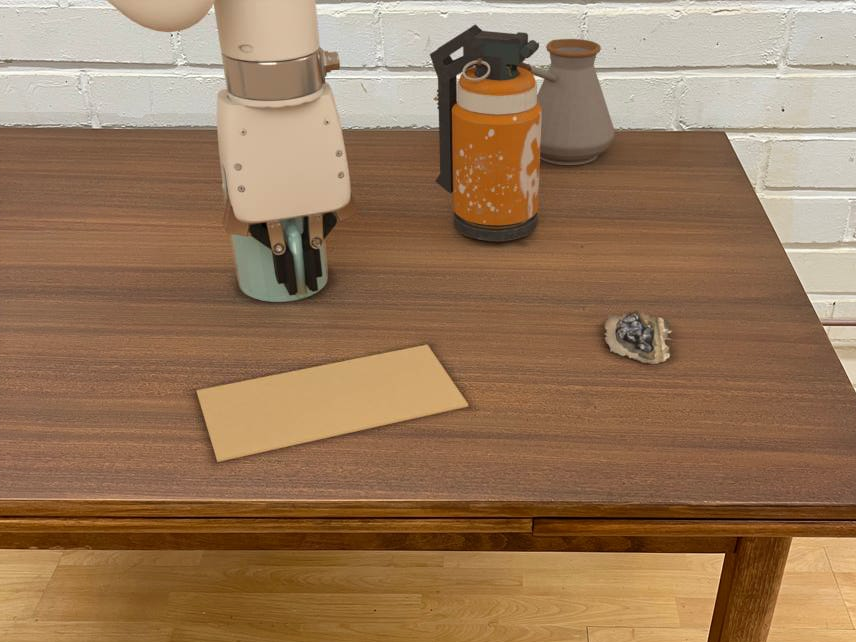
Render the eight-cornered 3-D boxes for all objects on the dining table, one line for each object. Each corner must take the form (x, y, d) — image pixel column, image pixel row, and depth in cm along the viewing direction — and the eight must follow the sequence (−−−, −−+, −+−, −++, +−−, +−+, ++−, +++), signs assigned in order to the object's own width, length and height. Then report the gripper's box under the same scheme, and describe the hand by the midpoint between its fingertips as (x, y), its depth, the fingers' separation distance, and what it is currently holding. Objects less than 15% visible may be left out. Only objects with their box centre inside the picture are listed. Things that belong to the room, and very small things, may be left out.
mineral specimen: (658, 314, 88) (660, 296, 87) (695, 359, 82) (698, 339, 81) (589, 324, 87) (591, 305, 86) (622, 369, 81) (624, 350, 80)
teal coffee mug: (230, 268, 95) (213, 170, 88) (314, 253, 97) (304, 157, 91) (259, 328, 86) (243, 224, 80) (350, 310, 89) (342, 208, 82)
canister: (522, 252, 98) (529, 46, 86) (423, 237, 101) (415, 35, 88) (546, 218, 105) (556, 22, 92) (452, 204, 108) (449, 12, 95)
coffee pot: (567, 132, 126) (575, 9, 117) (631, 156, 120) (645, 27, 110) (441, 171, 116) (438, 39, 106) (504, 200, 109) (507, 61, 99)
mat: (217, 462, 71) (216, 460, 71) (196, 392, 78) (196, 390, 78) (468, 406, 77) (468, 404, 76) (427, 346, 84) (427, 344, 84)
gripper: (356, 51, 80) (370, 255, 91) (165, 71, 75) (206, 283, 87) (383, 77, 74) (394, 290, 86) (180, 99, 70) (221, 321, 81)
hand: (300, 285), depth 86 cm, fingers closed on teal coffee mug, 1 cm apart
